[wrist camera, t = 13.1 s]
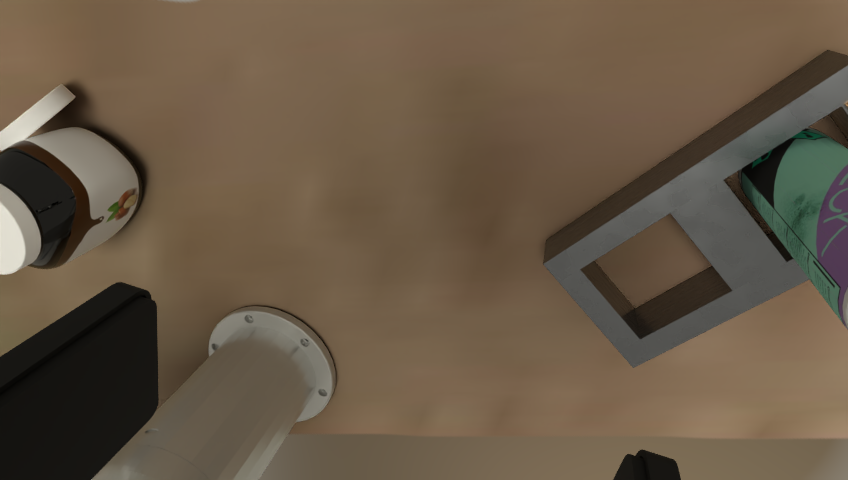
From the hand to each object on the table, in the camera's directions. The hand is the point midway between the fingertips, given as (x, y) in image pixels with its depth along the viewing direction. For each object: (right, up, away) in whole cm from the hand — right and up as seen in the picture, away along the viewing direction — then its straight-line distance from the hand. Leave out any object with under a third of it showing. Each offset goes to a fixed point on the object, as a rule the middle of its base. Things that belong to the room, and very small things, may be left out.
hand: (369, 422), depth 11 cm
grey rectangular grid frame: (+20, +5, +27) cm, 34 cm away
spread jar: (-27, +11, +38) cm, 48 cm away
